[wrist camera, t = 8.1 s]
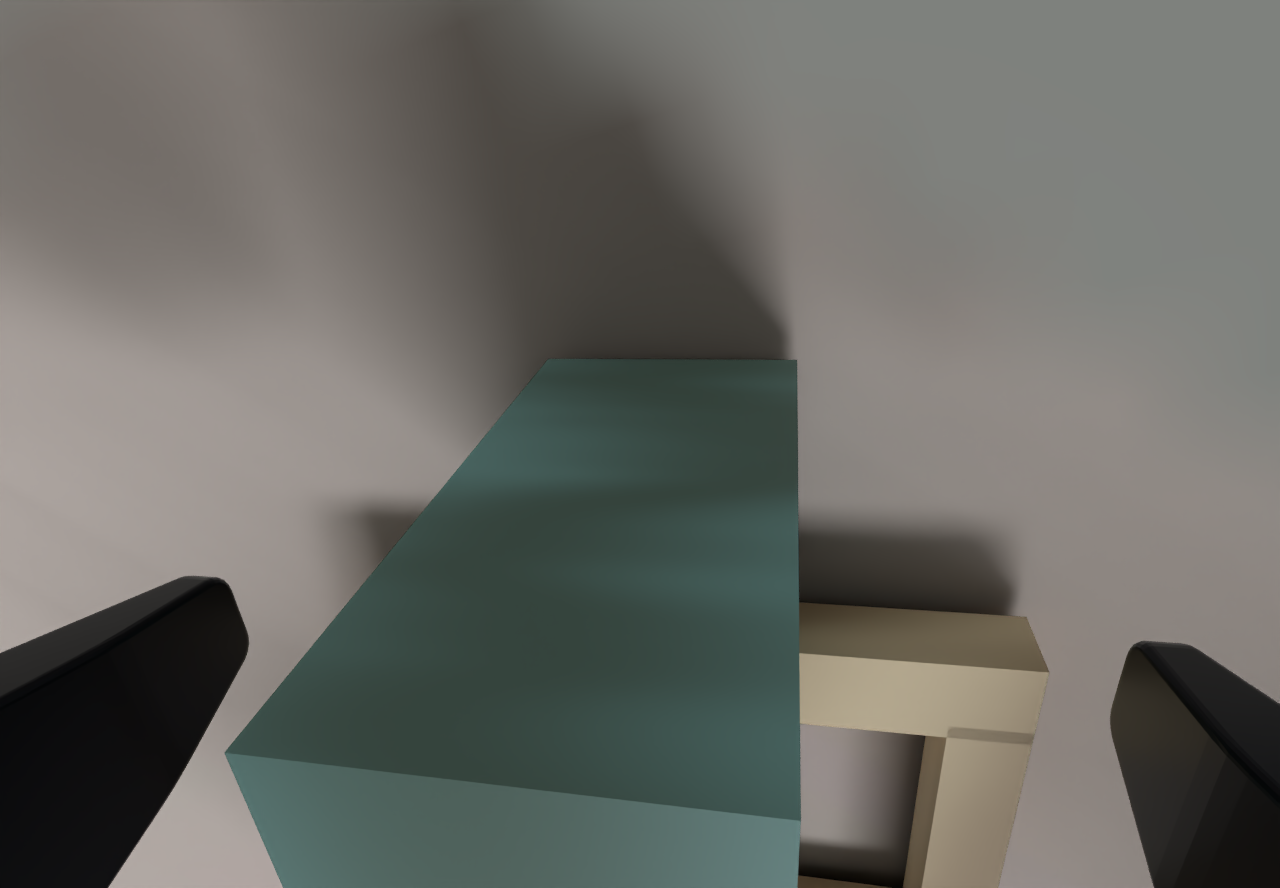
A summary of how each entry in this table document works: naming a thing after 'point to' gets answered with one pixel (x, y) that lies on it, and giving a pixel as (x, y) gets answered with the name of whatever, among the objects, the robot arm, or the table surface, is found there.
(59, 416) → the table surface
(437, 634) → the wooden frame with block
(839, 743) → the table surface
